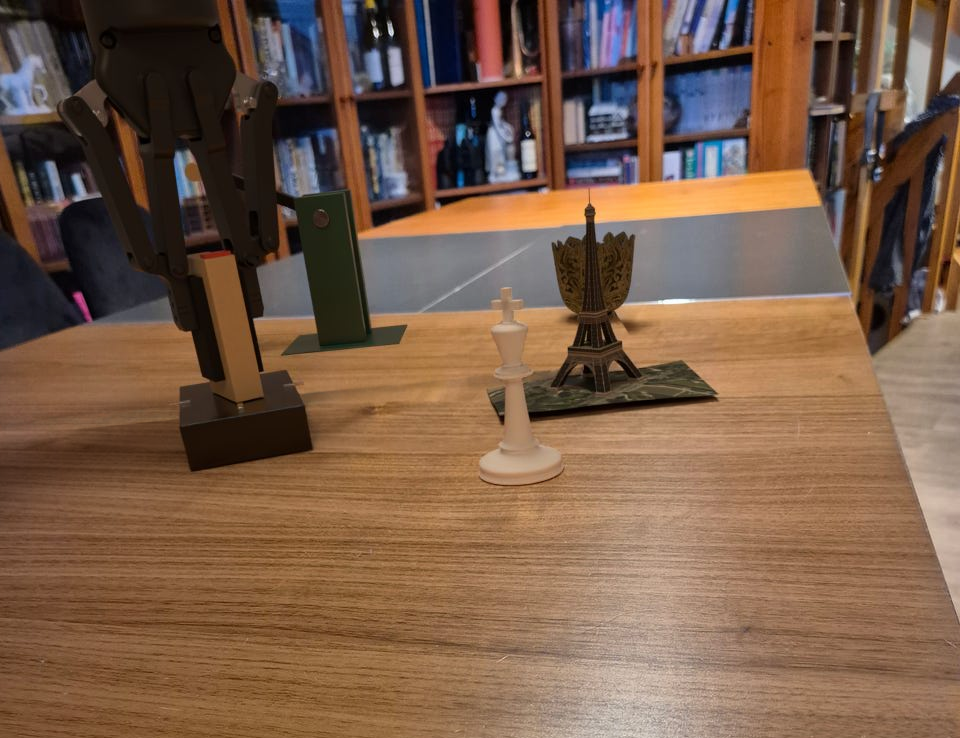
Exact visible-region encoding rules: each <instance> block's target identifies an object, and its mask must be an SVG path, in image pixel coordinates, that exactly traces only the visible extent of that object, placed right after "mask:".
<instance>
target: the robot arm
mask: <svg viewBox="0 0 960 738" xmlns="http://www.w3.org/2000/svg"><path fill="white" fill-rule="evenodd" d="M79 2H80V7H81V11H82V14H83V18H84V23H85V25H86V26H85V27H86V30H87V34H88V38H89V42H90V45H91V52H92V53H91V54H92V57H91V64H90V68H89V77H90V81H89V82H88V83H87V84H86V85H84V86H83V87H81V89H79V90H78V91H77V92H76V93H75V94H73V95H70V96H68V97H65V98H62V99H61V100H58V102H57V104H56V107H55V108H56V114H57V115H58V117H59V119H60V120H61V121H62V123H63V124H64V125H65V126H66V128H67V129H68V130H69V132H70V133H71V134H72V135H73V137H74V138H75V139H76V140H77V142H78V143H79V144H80V146H81V148H82V151H83V153H84V155H85V158H86V161H87V163H88V166H89V168H90V170H91V173H92V176H93V178H94V180H95V183H96V185H97V188H98V191H99V193H100V195H101V198H102V201H103V203H104V205H105V206H104V207H105V208H106V212H107V213H108V215H109V219H110V221H111V223H112V225H113V228H114V231H115V233H116V236H117V238H118V240H119V243H120V245H121V248H122V251H123V253H124V256H125V258H126V261H127V263H128V265H129V267H130V268H131V269H132V270H133V271H136V272H140V273H146V274H148V275H149V274H150V275H154V276H156V277H159V279H160V280H162V282H163V284H164V286H165V287H164V288H165V291H166V295H167V299H168V302H169V307H170V311H171V314H172V320H173V322H174V324H175V326H176V328H177V330H179V331H181V332H184V333H188V332H191V336H192V341H193V346H194V350H195V353H196V357H197V362H198V366H199V370H200V374H201V377H202V378H203V379H206V380H208V381H209V380H211V381H213V382H219V381H224V380H226V378H225V374H224V370H223V365H222V361H221V356H220V352H219V348H218V343H217V339H216V335H215V330H214V326H213V321H212V317H211V313H210V308H209V304H208V300H207V295H206V291H205V287H204V282H203V278H202V277H197V276H192V275H188V273H189V267H188V260H187V255H188V254H187V252H188V251H187V246H186V238H185V231H184V225H183V217H182V210H181V203H180V196H179V187H178V181H177V175H176V167H175V155H176V147H175V139H177V138H181V139H186V142H187V146H188V149H189V151H190V153H191V154H192V156H193V157H194V159H195V162H196V163H197V166H198V169H199V173H200V176H201V179H202V180H201V182H202V185H203V189H204V192H205V194H206V198H207V202H208V204H209V207H210V210H211V214H212V217H213V220H214V223H215V227H216V230H217V234H218V236H219V239H220V244H221V246H222V251H223V250H227V251H230V252H231V255H234V256H235V261H236V266H237V270H238V275H239V280H240V285H241V289H242V294H243V299H244V304H245V308H246V313H247V318H248V322H249V327H250V332H251V337H252V341H253V346H254V351H255V356H256V360H257V365H258V370H259V373H264V372H265V369H264V364H263V359H262V355H261V350H260V345H259V340H258V336H257V331H256V326H255V321H254V320H255V319H258V318H263V317H264V314H265V313H264V311H265V307H264V306H265V305H264V301H263V296H262V290H261V287H260V286H261V285H260V281H259V275H258V272H257V271H258V270H257V268H258V267H259V266H260V265H261V263H262V262H261V261H262V259H264V258H265V257H267V256H268V255H269V254H272V253H276V252H277V251H278V250H279V248H280V244H281V241H280V239H281V238H280V226H279V212H278V204H277V196H276V190H277V184H276V183H277V182H276V168H275V156H274V155H275V153H274V140H273V138H274V137H273V120H274V116H275V110H276V108H277V103H278V100H279V89H278V87H277V85H276V83H274V81H270V80H266V81H259V80H257V79H256V78H253V77H251V76H250V75H248V74H245V73H244V72H241V71H239V70H238V69H237V65H236V62H235V60H234V57H233V56H232V55H231V53H230V52H229V51H228V49H227V46H226V45H225V42H224V39H223V35H222V33H223V32H222V25H221V20H220V13H219V9H218V8H219V7H218V3H217V0H79ZM231 93H232V95H233V98H234V99H233V100H234V108H235V110H236V112H237V113H238V114H239V115H240V119H239V138H240V149H241V151H240V153H241V162H242V163H241V164H242V177H244V188H245V192H244V198H245V200H244V201H245V211H246V216H245V212H244V209H243V206H242V202H241V199H240V196H239V193H238V189H236V185H235V182H234V179H233V175H232V173H233V172H232V168H231V166H230V162H229V159H228V154H227V151H226V150H227V142H226V139H225V135H224V132H223V128H222V125H221V119H222V117H223V114H224V112H225V109H226V106H227V104H228V100H229V98H230V95H231ZM105 101H106V103H107V104H108V105H109V106H110V107H111V108H112V109H113V110H114V111H115V112H116V113H117V114H118V116H119V117H120V118H121V119H122V120H123V121H124V122H125V123H126V124H127V125H128V126H129V127H130V129H132V131H133V132H134V133H135V139H136V145H137V151H138V156H139V158H140V160H141V162H142V168H143V174H144V183H145V189H146V195H147V201H148V202H147V203H148V207H149V214H150V220H151V221H150V222H151V229H152V234H153V235H152V236H153V241H154V247H153V244H152V241H151V239H150V236H149V233H148V231H147V228H146V226H145V223H144V220H143V217H142V214H141V213H140V210H139V207H138V204H137V202H136V199H135V196H134V195H133V192H132V189H131V186H130V183H129V181H128V179H127V176H126V173H125V171H124V168H123V165H122V162H121V160H120V158H119V155H118V153H117V150H116V147H115V145H114V143H113V140H112V138H111V136H110V134H109V133H108V131H107V129H106V127H107V126H108V123H109V116H108V113H107V111H106V108H105ZM154 248H155V249H154Z"/></svg>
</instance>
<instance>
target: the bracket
mask: <svg viewBox="0 0 960 738" xmlns="http://www.w3.org/2000/svg"><path fill="white" fill-rule="evenodd" d="M294 197H295V198H294V205H295V210H296V211H295V215H296V222H297V227H298V232H299V237H300V244H301V249H302V255H303V260H304V266H305V271H306V278H307V284H308V290H309V295H310V300H311V305H312V311H313V317H314V322H315V328H316V333H308V334H299V335H297V336H296V338H295V339H294V340H293V341H292V342H291V343H290V344H289V345H288V346H287V347H286V348H285V349H284V350H283V352H282V353H281V354H280V356H281V357H283V356H293V355H303V354H313V353H322V352H323V353H324V352H331V351H332V352H333V351H342V350H352V349H363V348H372V347H373V348H375V347H382V346H394V345H400V343H401V341H402V339H403V337H404V335H405V332H406V330H407V328H408V324H396V325H387V326H378V327H373V326H372V321H371V314H370V307H369V299H368V294H367V288H366V281H365V274H364V267H363V261H362V254H361V253H362V252H361V247H360V241H359V234H358V228H357V227H358V226H357V222H356V214H355V213H356V212H355V207H354V200H353V195H352V189H350V188H349V189H340V190H332V191H323V192H314V193H313V192H312V193H304V194H302V195H301V196H294Z"/></svg>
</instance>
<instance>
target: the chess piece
mask: <svg viewBox="0 0 960 738" xmlns="http://www.w3.org/2000/svg"><path fill="white" fill-rule="evenodd" d="M490 304H491V310H492V311H501V313H502V321H500V322H499V323H496V324H494V325H493V326H491V328H490V334H491V337H492V339H493V342H494V343H495V346H496V348H497V351H498V354H499V356H500V358H501V360H502V364H501V366H500V367H497V368H496V369H494V373H493V377H494V378H495V379H498V380H503V381H504V387H505V415H504V423H503V426H504V427H503V440H501V441H499V443H498V448H496V449H494V450H491V451H490V452H489V451H488V452H487V453H486V454H484V455H483V456H482V457H481V458H480V460H479V461H478V467H479V470H478V477H479V478H480V479H481V480H482V481H484V482H487V483H489V484H492V485H493V484H494V485H501V486H522V485H531V484H535V483H536V484H537V483H540V482H544V481H547V480H549V479H552V478H554V477H556V476H558V475H560V474H561V473H562V472H563V470H564V467H565V466H564V463H563V461H562V460H563V455H562V453H561V452H560V451H559V450H558V449H556V448H554V447H551V446H548V445H543V444H539V443H540V439H538V438H537V437H535V436H534V433H533V430H532V425H531V420H530V415H529V412H528V410H527V405H526V400H525V394H524V388H523V383H524V382H523V379H524V378H526V377H527V378H528V377H529V376H531V375H532V374H533V372H534V371H533V370H532V366H531V365H528V364H524V362H522V358H523V356H524V355H523V353H524V351H525V344H526V340H527V337H528V333H529V325H528V324H527V323H526V322H523V321H521V320H520V321H518V320H517V319H515V314H514V311H521V310H523V309H524V299H513V288H512V287H511V286H510V287H509V286H507V287H506V286H504V287H501V288H500V299H494V300H491V302H490Z"/></svg>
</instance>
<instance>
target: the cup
mask: <svg viewBox="0 0 960 738" xmlns="http://www.w3.org/2000/svg"><path fill="white" fill-rule="evenodd" d="M635 241H636V234H634V233H631V234H630V235H629V236H628V234H627V232H626V231H624V230H623V231H621V232H619V233H617V234H616V235H614V233H612V232H611V231H607V232H606V233H605V234H604V236H603V237H602V242H599V241H596V243H597V253H598V263H599V272H600V280H601V287H602V293H603V299H604V303H605V308H606V309H608V311H607V315H608V318H609V320H613V319H614V318H616V314H615V312H614V311H616V310H618V309H619V308H621V307H622V305H623V304H624V303H625V302H626V300H627V298H628V296H629V293H630V289H631V283H632V276H633V266H634V257H635V256H634V254H635V243H636V242H635ZM551 250H552V256H553V263H554V269H555V276H556V280H557V287H558V290H559V294H560V298H561V300H562V302H563V304H564V306H565V307H566V308H567V309H568V310H570V311H571V312H572V313H575V314H577V317H576V321H578V322H579V321H580V317H581V316H580V314H579V312H581V311H582V304H583V295H584V282H585V252H586V234H584V235H583V237H582V239H580V238H578V237H575V236H571V235H569V236H568V237H567V238H566V240H565V241H564V244H563V241H561V240H560V239H557V240H556V242H554V241H552V242H551Z"/></svg>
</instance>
